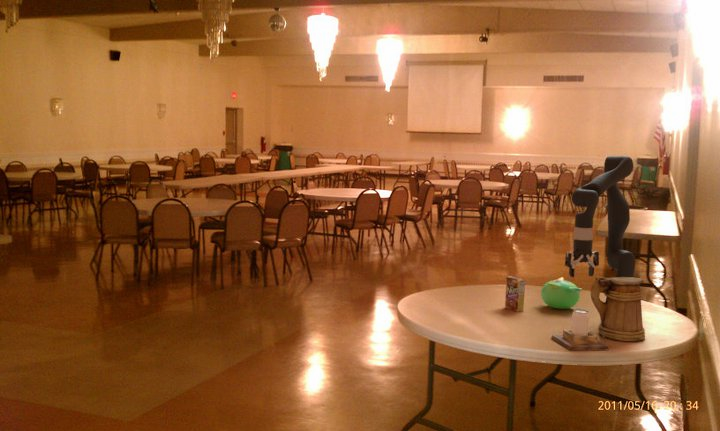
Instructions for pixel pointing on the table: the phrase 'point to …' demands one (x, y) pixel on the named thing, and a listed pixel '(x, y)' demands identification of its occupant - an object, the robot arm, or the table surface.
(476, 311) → the table surface
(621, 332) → the tankard
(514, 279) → the candy box
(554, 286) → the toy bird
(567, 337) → the socket stand
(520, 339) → the table surface
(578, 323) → the can
